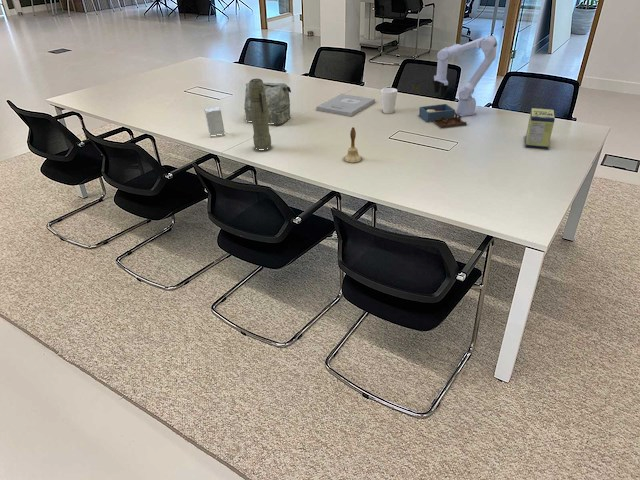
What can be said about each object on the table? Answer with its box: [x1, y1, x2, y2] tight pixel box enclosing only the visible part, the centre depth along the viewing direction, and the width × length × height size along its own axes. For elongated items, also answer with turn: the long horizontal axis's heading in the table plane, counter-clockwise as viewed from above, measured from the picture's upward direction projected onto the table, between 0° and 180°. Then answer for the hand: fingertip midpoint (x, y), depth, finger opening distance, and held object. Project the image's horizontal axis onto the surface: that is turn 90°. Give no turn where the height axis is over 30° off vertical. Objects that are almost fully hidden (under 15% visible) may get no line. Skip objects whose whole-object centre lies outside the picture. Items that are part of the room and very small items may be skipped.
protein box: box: [525, 107, 556, 150], centre depth 243 cm, size 10×16×16 cm
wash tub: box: [418, 103, 456, 123], centre depth 283 cm, size 17×12×5 cm
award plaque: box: [315, 93, 376, 117], centre depth 306 cm, size 25×30×2 cm
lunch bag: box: [243, 81, 292, 126], centre depth 284 cm, size 26×18×22 cm
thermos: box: [248, 78, 272, 152], centre depth 244 cm, size 9×12×35 cm
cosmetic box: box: [204, 106, 226, 139], centre depth 268 cm, size 8×6×15 cm
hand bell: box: [343, 126, 362, 164], centre depth 234 cm, size 8×8×16 cm
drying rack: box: [433, 113, 468, 129], centre depth 273 cm, size 15×9×5 cm, turn 104°
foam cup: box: [380, 87, 398, 114], centre depth 291 cm, size 10×9×13 cm
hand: (439, 94), depth 289 cm, fingers open, 7 cm apart
